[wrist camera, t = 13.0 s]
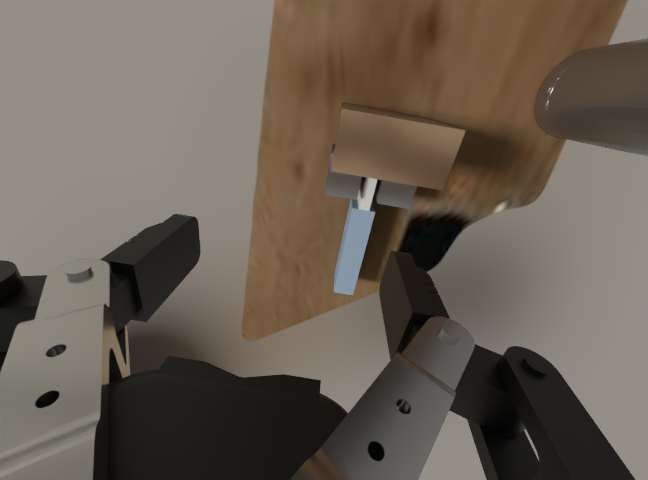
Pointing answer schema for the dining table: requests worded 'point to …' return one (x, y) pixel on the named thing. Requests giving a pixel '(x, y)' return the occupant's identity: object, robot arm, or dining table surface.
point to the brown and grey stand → (390, 154)
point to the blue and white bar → (355, 238)
